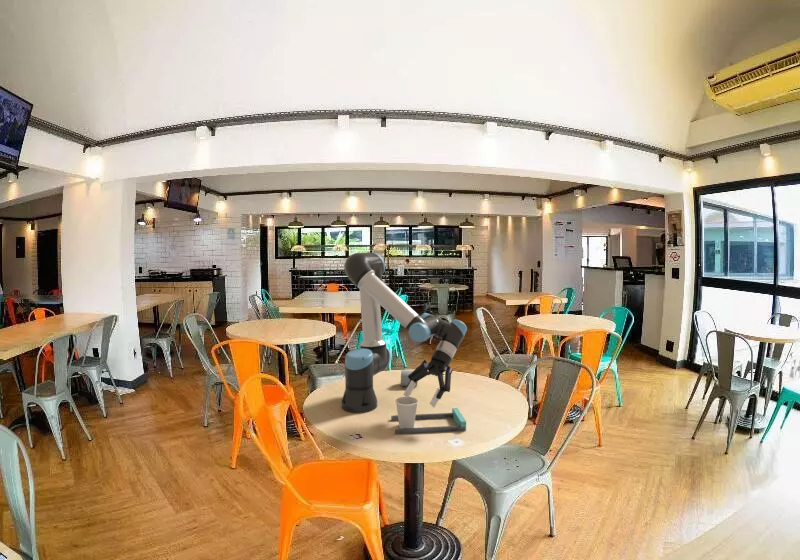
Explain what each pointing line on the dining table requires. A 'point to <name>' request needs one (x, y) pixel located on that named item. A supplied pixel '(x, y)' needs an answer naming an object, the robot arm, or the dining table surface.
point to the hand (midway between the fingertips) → (418, 400)
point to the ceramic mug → (406, 378)
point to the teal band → (458, 418)
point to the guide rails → (428, 429)
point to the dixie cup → (406, 411)
